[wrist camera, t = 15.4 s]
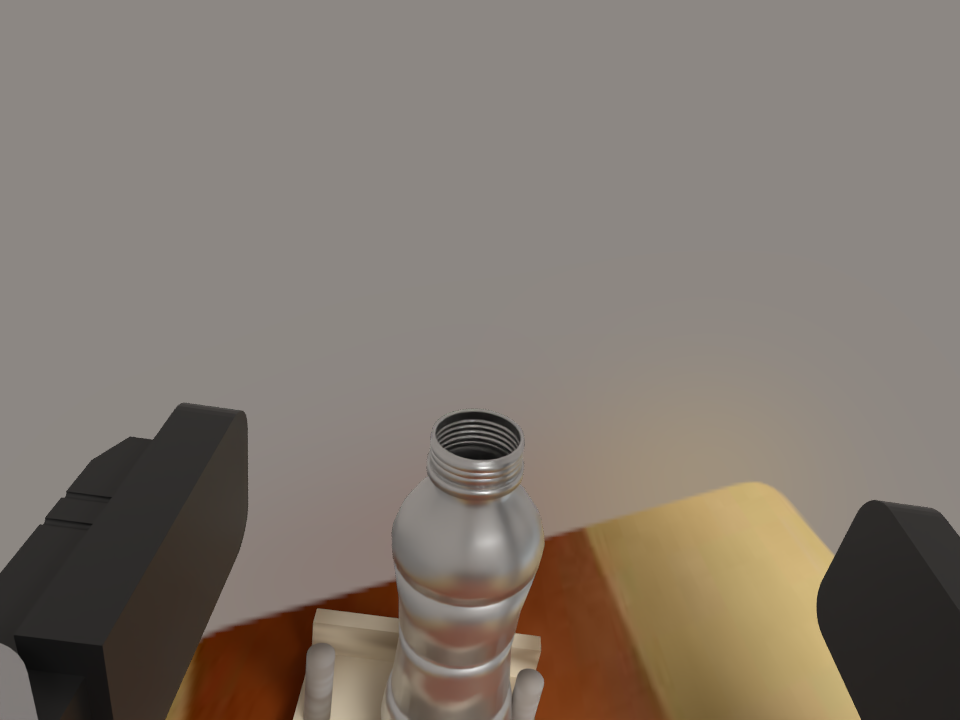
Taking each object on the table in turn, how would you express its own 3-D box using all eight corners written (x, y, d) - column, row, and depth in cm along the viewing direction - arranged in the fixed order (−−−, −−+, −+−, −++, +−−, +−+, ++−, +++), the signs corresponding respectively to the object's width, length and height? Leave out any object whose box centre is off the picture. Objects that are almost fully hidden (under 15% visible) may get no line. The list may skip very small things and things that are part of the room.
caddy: (528, 681, 45) (548, 606, 42) (533, 858, 36) (560, 780, 33) (314, 654, 44) (319, 576, 41) (267, 827, 36) (268, 745, 32)
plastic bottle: (371, 696, 41) (378, 395, 31) (488, 675, 43) (532, 384, 33) (390, 815, 36) (407, 498, 25) (523, 784, 37) (588, 478, 27)
